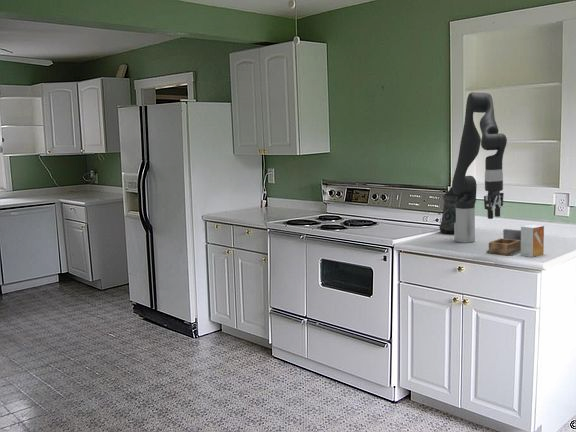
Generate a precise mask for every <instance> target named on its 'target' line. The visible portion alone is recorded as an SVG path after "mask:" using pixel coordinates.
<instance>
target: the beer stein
mask: <svg viewBox="0 0 576 432" xmlns="http://www.w3.org/2000/svg"><path fill="white" fill-rule="evenodd" d="M463 197H464V195H456V194H454V193H453V190H452V187H450V189H449V190H448V191H447V192H445V193H444V194H443V196H442V199H443V208H442V209H443V210H442V216H441V221H440V224H439V228H438V229H439V231H440V232H439V233H440V234H442V235H446V236H447V235H448V236H454V223H455V222H456V202H458V201H459V200H461V199H462V198H463Z"/></svg>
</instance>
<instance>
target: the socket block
mask: <svg viewBox="0 0 576 432" xmlns="http://www.w3.org/2000/svg"><path fill="white" fill-rule="evenodd" d="M520 249H521V240H513V239H503V237H502V238H501V237H500V238H498V239H495V240H492V241H489V242H488V250H489V253H488V254H492V255H501V256H509V257H511V256H510V253H513V252H515V251H518V250H520Z"/></svg>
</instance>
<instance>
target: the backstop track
mask: <svg viewBox="0 0 576 432" xmlns="http://www.w3.org/2000/svg"><path fill="white" fill-rule="evenodd" d="M502 231H503V233H502V235H503V237H502V239H513V240H521V229H508V228H504V229H503V230H502ZM485 253H486V254H490V253H489V249H487V250H486V252H485ZM519 254H521V249H520V250H518V251H515V252H513V253H510V256H509V257H514V256H517V255H519Z"/></svg>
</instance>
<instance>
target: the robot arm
mask: <svg viewBox="0 0 576 432" xmlns="http://www.w3.org/2000/svg"><path fill="white" fill-rule="evenodd" d="M474 113H481V114H484V115H483V116H481V118H480V121H479V128H480V131H481V136H480V133H479V131H478V129H477V126H476V124H475V121H474ZM463 123H464V124H463V129H462V134H461V138H460V139H461V140H460V144H459V150H458V158H457V162H456V167H455V170H454V174H453V178H452V180H451V181H452V182H451V188H452V190H453V193H454V194H456V195H464V197H463V198H462V199H461V200H459V201H458V202H456V222H455V223H454V235H453V236H454V238H453V239H454V242H457V243H465V244H466V243H474V242H476V214H475V213H476V206H475V205H476V202H477V185H478V184H477V180H476V178H475V177H474V176H473V175H467V171H468V169H469V167H470V166H471V165H472V163H473V162H474V160H475V159H476V158H477V157H478V154H479V153H480V147H481V148H482V150H485V151H496V152H495V154H492V155H488V156H486V157H485V160H484V163H485V164H484V165H485V166H484V167H485V171H484V191H486V192H487V194H486V195H484V196H483V204H484V210H487V219H489V220H493V219H494V216H495V217H496V218H497V217H498V218H499V217H501V209H502V207H503V206H504V195H505V194H504V192H502V191H503V190H504V172H503V161H504V160H503V158H504V153H505V149H506V147H507V144H508V143H507V142H508V139H507V136H506V135H505V134H504V133H499V126H498V125H497V122H496V117H495V109H494V101H493V97H492V95H491V94H490V93H488V92H476V91H475V92H470V93H468V95H467V99H466V104H465V113H464V122H463Z"/></svg>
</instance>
